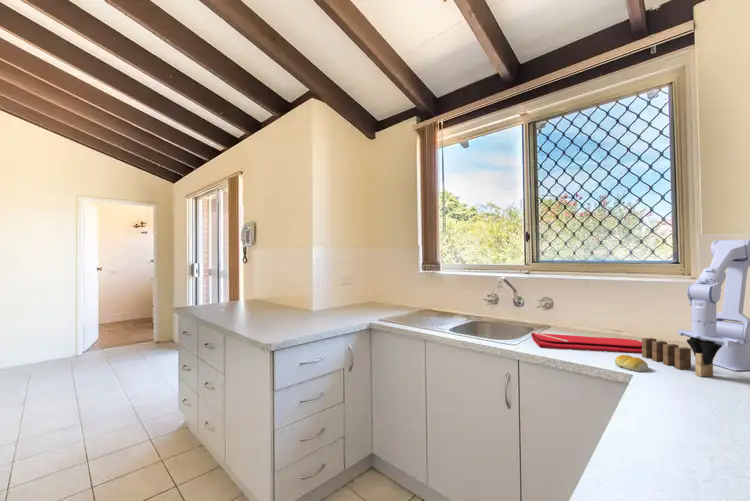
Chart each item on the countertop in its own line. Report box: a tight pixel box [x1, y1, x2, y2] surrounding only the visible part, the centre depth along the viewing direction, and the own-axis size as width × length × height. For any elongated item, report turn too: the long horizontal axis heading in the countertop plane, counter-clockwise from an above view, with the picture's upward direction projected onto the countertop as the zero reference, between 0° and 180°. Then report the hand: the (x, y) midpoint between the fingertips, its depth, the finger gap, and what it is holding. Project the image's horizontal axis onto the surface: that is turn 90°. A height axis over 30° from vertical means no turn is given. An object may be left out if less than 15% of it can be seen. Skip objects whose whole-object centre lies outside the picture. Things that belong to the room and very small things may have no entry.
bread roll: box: [614, 354, 649, 372], centre depth 113 cm, size 8×9×4 cm
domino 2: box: [651, 340, 668, 363], centre depth 119 cm, size 4×2×7 cm, turn 97°
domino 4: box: [674, 346, 692, 371], centre depth 111 cm, size 4×2×7 cm, turn 97°
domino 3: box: [662, 343, 680, 367], centre depth 115 cm, size 4×2×7 cm, turn 97°
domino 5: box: [694, 353, 714, 377], centre depth 105 cm, size 4×2×7 cm, turn 97°
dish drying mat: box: [530, 332, 642, 354], centre depth 139 cm, size 16×41×4 cm, turn 77°
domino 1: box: [641, 337, 657, 359], centre depth 123 cm, size 4×2×7 cm, turn 97°
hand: (704, 363), depth 105 cm, fingers closed on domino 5, 1 cm apart
